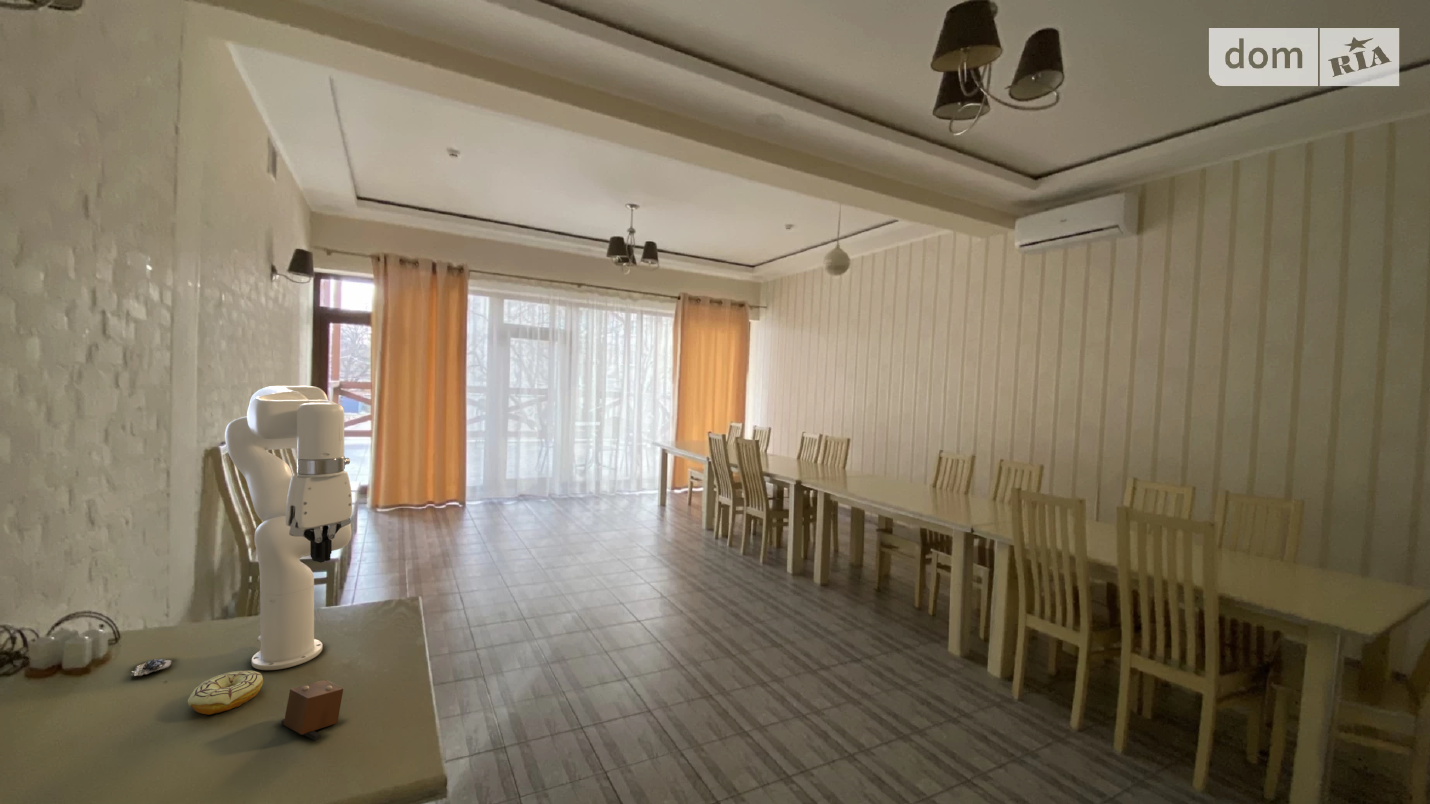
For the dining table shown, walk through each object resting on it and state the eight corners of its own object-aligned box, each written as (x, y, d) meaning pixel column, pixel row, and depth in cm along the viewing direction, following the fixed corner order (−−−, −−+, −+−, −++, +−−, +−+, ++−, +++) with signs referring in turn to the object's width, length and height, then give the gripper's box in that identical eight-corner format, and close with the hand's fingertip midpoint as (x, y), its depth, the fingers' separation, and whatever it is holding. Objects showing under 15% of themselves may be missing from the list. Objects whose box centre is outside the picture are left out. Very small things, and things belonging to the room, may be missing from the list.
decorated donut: (173, 717, 103) (172, 697, 103) (220, 685, 114) (220, 667, 113) (233, 716, 104) (233, 696, 103) (275, 684, 114) (274, 666, 114)
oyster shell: (134, 681, 114) (134, 672, 114) (121, 670, 118) (121, 661, 118) (179, 667, 120) (178, 658, 120) (164, 657, 124) (164, 648, 124)
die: (289, 685, 101) (327, 675, 107) (281, 723, 100) (321, 711, 106) (308, 695, 98) (347, 684, 104) (301, 734, 97) (340, 722, 103)
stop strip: (281, 724, 102) (281, 720, 102) (286, 722, 103) (285, 717, 103) (315, 740, 98) (315, 736, 98) (320, 738, 98) (320, 733, 98)
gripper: (347, 460, 117) (347, 547, 118) (265, 470, 104) (266, 568, 105) (371, 463, 114) (371, 553, 115) (290, 474, 101) (290, 575, 101)
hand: (321, 560), depth 110 cm, fingers closed
